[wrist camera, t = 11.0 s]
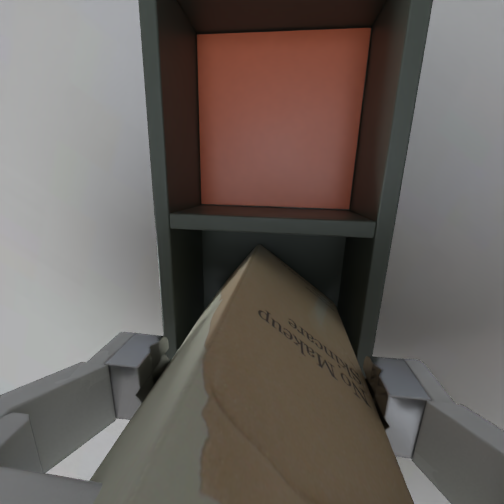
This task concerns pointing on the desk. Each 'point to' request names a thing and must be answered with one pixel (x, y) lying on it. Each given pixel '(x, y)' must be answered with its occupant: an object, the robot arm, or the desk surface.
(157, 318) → the desk surface
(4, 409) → the robot arm
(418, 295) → the desk surface
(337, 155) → the divided tray
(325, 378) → the box
